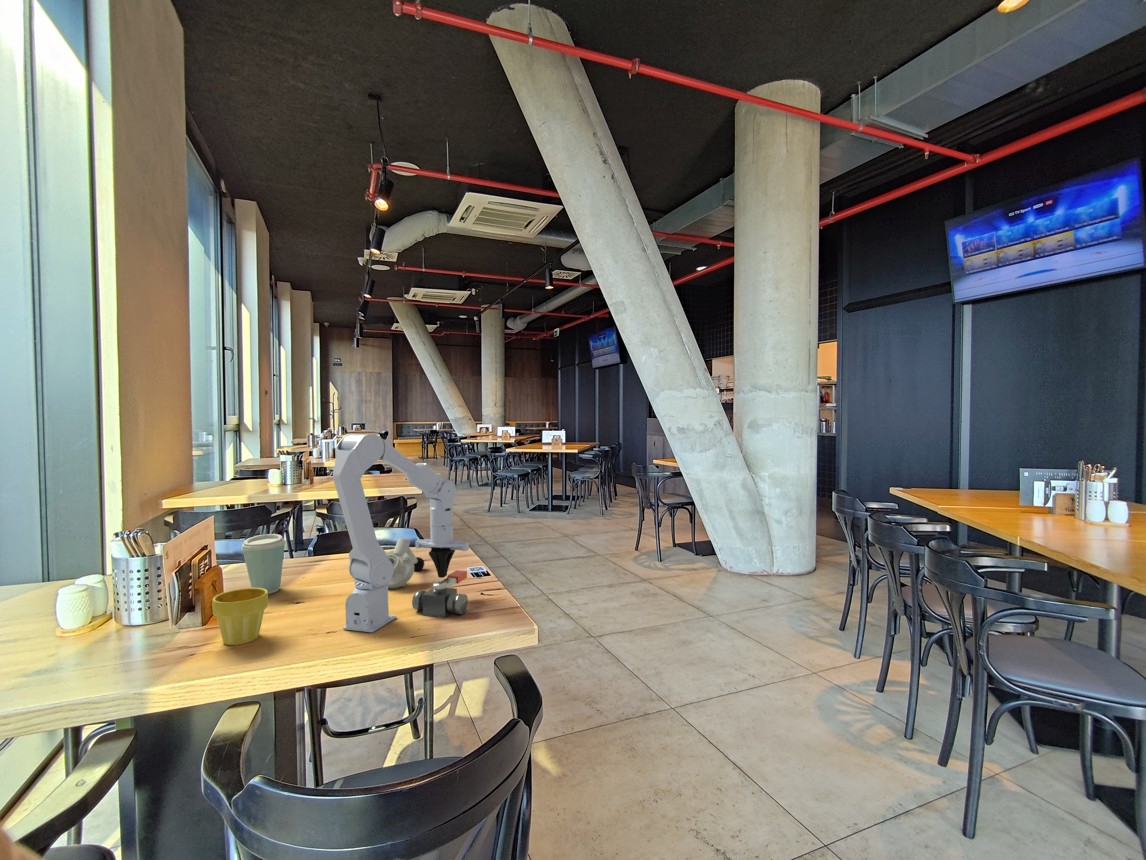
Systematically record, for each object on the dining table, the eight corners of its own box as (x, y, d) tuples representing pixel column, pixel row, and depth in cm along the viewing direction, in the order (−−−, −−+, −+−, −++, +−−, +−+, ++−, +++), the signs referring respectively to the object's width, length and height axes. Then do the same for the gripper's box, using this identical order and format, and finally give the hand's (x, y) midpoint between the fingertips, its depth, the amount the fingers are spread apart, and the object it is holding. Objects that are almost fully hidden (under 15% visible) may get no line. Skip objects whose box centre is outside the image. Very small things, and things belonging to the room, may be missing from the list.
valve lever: (442, 593, 131) (442, 585, 131) (430, 592, 132) (430, 585, 132) (467, 577, 144) (467, 570, 144) (456, 576, 144) (456, 569, 144)
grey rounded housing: (421, 609, 162) (437, 562, 171) (400, 582, 147) (418, 532, 156) (389, 605, 163) (406, 559, 173) (364, 577, 148) (384, 528, 157)
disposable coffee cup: (284, 595, 147) (282, 539, 146) (238, 600, 143) (236, 543, 142) (289, 583, 157) (287, 532, 156) (246, 588, 153) (244, 535, 152)
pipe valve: (457, 618, 128) (457, 597, 128) (410, 613, 132) (410, 593, 132) (469, 609, 134) (468, 589, 134) (423, 605, 138) (423, 585, 138)
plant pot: (278, 629, 123) (277, 586, 123) (251, 649, 113) (250, 602, 113) (232, 629, 123) (231, 587, 123) (201, 649, 113) (200, 603, 113)
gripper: (473, 523, 144) (474, 574, 144) (425, 520, 148) (426, 570, 148) (461, 528, 137) (462, 582, 137) (410, 525, 141) (411, 577, 141)
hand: (442, 576), depth 142 cm, fingers closed
